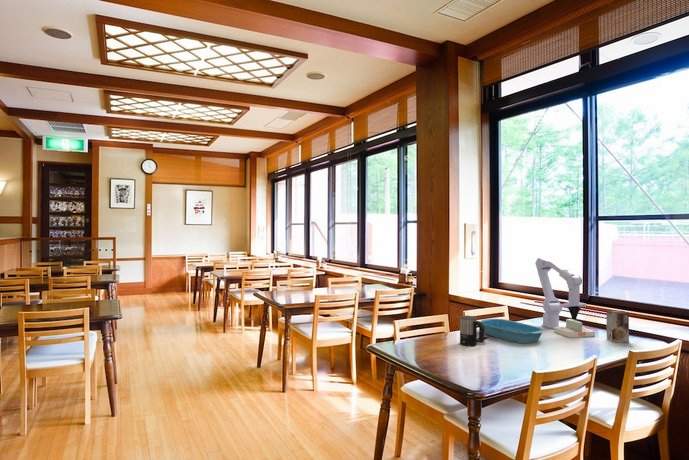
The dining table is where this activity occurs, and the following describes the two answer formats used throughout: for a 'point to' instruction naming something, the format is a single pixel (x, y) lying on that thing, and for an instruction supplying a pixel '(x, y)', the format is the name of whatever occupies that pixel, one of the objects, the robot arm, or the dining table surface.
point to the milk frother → (471, 331)
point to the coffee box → (618, 326)
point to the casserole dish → (511, 330)
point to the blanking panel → (574, 325)
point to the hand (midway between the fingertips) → (574, 319)
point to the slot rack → (574, 332)
